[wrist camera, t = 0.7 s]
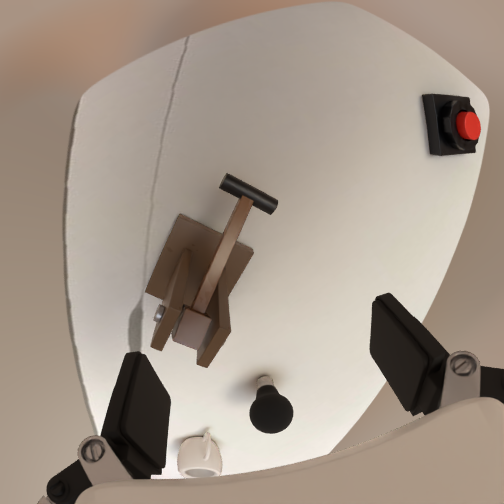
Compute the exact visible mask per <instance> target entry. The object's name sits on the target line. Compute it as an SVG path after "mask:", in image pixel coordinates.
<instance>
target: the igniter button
mask: <svg viewBox="0 0 504 504" xmlns="http://www.w3.org/2000/svg"><path fill="white" fill-rule="evenodd" d="M456 127H457V131H458V133H459V135H460V136H461V137H462V138H464V139H470V140H476V139H478V137H479V136H480V132H481V126H480V121H479V119H478V117H477V116H476V114H475V113H473V112H460V113H458V115H457V117H456Z"/></svg>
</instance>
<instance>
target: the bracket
mask: <svg viewBox="0 0 504 504" xmlns="http://www.w3.org/2000/svg"><path fill="white" fill-rule="evenodd" d="M221 236H222V234H221V233H219V232H217V231H214V230H212V229H210V228H208V227H206V226H204V225H202V224H200V223H198V222H196V221H194V220H192V219H190V218H188V217H186V216H183V215H181V214H179V216H178V218H177V220H176V222H175V225H174V227H173V229H172V231H171V233H170V235H169V237H168V240H167V242H166V244H165V246H164V248H163V251H162V253H161V255H160V257H159V260H158V262H157V264H156V267H155V269H154V271H153V274H152V276H151V278H150V281H149V283H148V285H147V288H146V290H145V292H146V293H148V294H151V295H153V296H155V297H157V298H160V299H162V300H163V302H162V305H159V306H158V308H157V311H156V313H155V316H154V319H153V320H154V321H156V322H157V323H156V327H155V330H154V334H153V338H152V342H151V347H152V348H154V349H156V350H159V351H162V350H163V348H164V346H165V344H166V342H167V340H168V338H169V336H170V333H171V331H172V329H173V327H174V325H175V323H176V321H177V319H178V318H179V316H180V314H181V311H182V306H183V304H186V305H188V306H191V305H192V302H193V300H194V298H195V295H196V293H197V291H198V288H199V286H200V284H201V281H202V279H203V277H204V275H205V272H206V270H207V268H208V265H209V263H210V261H211V259H212V256H213V254H214V252H215V250H216V248H217V245H218V243H219V241H220V239H221ZM253 254H254V252H253V249H252V248H249V247H247V246H245V245H243V244H241V243H239V242H237V241H236V242H235V245H234V247H233V249H232V251H231V254H230V256H229V258H228V261H227V263H226V265H225V267H224V270H223V272H222V274H221V277H220V279H219V281H218V283H217V286H216V288H215V290H214V293H213V295H212V297H211V300H210V302H209V304H208V307H207V309H206V311H205V313H207V314H208V315H209V316H210V318H211V319H212V320H211V322H210V325H209V327H208V329H207V332H206V334H205V336H204V339H203V341H202V343H201V346H200V348H199V350H197V365H199V366H202V367H205V368H208V366H209V365H210V363H211V362H212V360H213V359H214V357H215V356H216V354H217V352H218V351H219V349H220V348H221V347H222V346H223V345H224V343H225V341H226V339H227V337H228V336H229V334H230V332H231V325H230V314H229V303H228V296H229V294H230V293H231V291H232V289H233V288H234V286H235V284H236V283H237V281H238V279H239V277H240V276H241V274H242V272H243V271H244V269H245V267H246V266H247V264H248V262H249V261H250V259H251V257H252V255H253Z"/></svg>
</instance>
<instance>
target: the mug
mask: <svg viewBox="0 0 504 504" xmlns="http://www.w3.org/2000/svg"><path fill="white" fill-rule="evenodd" d="M177 466H178V471H179V473H180V475H181V476H183V477H185V478H204V477H216V476H220V475H221V473H222V458H221V454H220V451H219V448H218V447H217V445H216V444H215V443H214V442H213V441H212V440H211V435H210V433H209V432H206V433H205V435H204V437H191V438H188V439H186V440H185V441H184V442H183V443H182V445H181V447H180V449H179V452H178V457H177Z"/></svg>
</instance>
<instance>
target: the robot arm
mask: <svg viewBox="0 0 504 504" xmlns="http://www.w3.org/2000/svg"><path fill="white" fill-rule="evenodd" d="M370 354H371V356H372V358H373V359H374V361H375V362H376V364H377V365H378V367H379V369H380V370H381V372H382V373H383V375H384V377H385V378H386V380H387V381H388V382H389V385H390V386H391V388H392V389H393V391H394V393H395V394H396V396H397V397H398V399H399V401H400V402H401V404H402V406H403V407H404V409H405V410H406V411H410V412H411V414H412V415H413V416H414V415H417V414H419V413H421V412H423V414H424V415H425V416H423V417H421V418H419V419H417V420H415V421H413V422H411V423H409V424H406V425H404V426H402V427H400V428H397V429H395V430H393V431H390V432H388V433H386V434H384V435H381V436H378V437H376V438H374V439H371V440H369V441H366V442H363V443H360V444H358V445H355V446H352V447H349V448H346V449H344V450H340V451H337V452H334V453H331V454H327V455H324V456H321V457H317V458H313V459H310V460H306V461H302V462H298V463H294V464H290V465H285V466H281V467H276V468H271V469H265V470H260V471H254V472H248V473H241V474H233V475H225V476H216V477H204V478H186V479H151V475H161V474H162V468H165V465H166V450H167V438H168V426H169V416H170V406H171V399H170V396H169V394H168V392H167V391H166V389H165V387H164V386H163V384H162V382H161V381H160V379H159V377H158V376H157V374H156V372H155V371H154V369H153V367H152V365H151V364H150V362H149V360H148V358H147V356H146V355H145V354H142V353H141V352H139V351H137V352H130V353H126V354H125V357H124V360H123V363H122V366H121V369H120V372H119V375H118V378H117V382H116V385H115V387H114V389H113V393H112V396H111V399H110V403H109V406H108V410H107V413H106V417H105V420H104V424H103V428H102V432H101V436H96V435H95V436H90V437H88V438H86V439H85V440H84V441H82V442H81V444H80V445H79V448H78V458H79V459H78V460H77V461H75V462H74V463H73V464H71V465H70V466H68V467H67V468H65V469H64V470H63V471H61V472H60V473H58V474H57V475H55V476H54V477H53V478H51V479H50V480H49V482H48V484H47V495H48V496H47V497H45V496H43V497H42V498H41V499H40V500H39V502H38V503H37V504H504V369H499V368H491V367H484V366H480V361H479V360H478V358H477V357H476V356H475V355H474V354H472V353H470V352H467V351H457V352H454V353H453V354H451V355H450V354H449V353H448V352H447V351H446V350H445V349H444V348H443V347H442V345H441V344H440V343H439V342H438V341H437V340H436V339H435V338H434V337H433V335H432V334H431V333H430V332H429V331H428V330H427V329H426V328H425V327H424V326H423V325H422V324H421V323H420V322H419V321H418V319H416V318H415V317H413V316H412V315H411V314H410V313H409V312H408V311H407V310H406V309H405V307H404V306H403V305H402V304H401V303H400V302H399V301H398V300H397V299H396V298H395V297H394V296H393V295H392V294H391V293H386V294H383V295H380V296H377V297H376V299H375V301H373V303H372V320H371V336H370Z"/></svg>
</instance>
